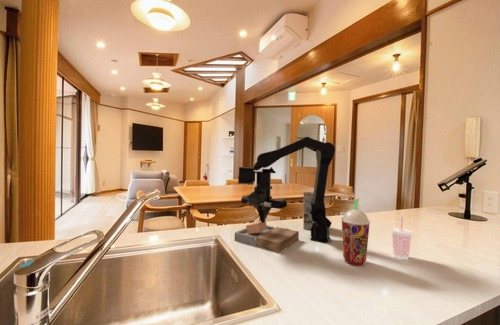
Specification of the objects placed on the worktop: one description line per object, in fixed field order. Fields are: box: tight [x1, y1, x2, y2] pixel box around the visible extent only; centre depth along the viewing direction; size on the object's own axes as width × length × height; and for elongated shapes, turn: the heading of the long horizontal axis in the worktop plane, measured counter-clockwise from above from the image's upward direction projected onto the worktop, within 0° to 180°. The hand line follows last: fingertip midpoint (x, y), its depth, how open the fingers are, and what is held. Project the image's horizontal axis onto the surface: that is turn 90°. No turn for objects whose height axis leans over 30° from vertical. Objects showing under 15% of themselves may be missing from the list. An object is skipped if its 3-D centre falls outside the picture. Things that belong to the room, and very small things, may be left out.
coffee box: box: [302, 191, 314, 230], centre depth 116 cm, size 9×6×16 cm
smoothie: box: [341, 200, 371, 267], centre depth 78 cm, size 8×8×20 cm
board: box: [255, 226, 300, 254], centre depth 95 cm, size 10×16×4 cm, turn 145°
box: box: [234, 225, 275, 247], centre depth 101 cm, size 10×16×3 cm, turn 145°
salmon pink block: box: [245, 220, 268, 234], centre depth 100 cm, size 6×6×4 cm
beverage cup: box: [390, 215, 413, 260], centre depth 83 cm, size 6×6×14 cm
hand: (262, 222), depth 99 cm, fingers closed
